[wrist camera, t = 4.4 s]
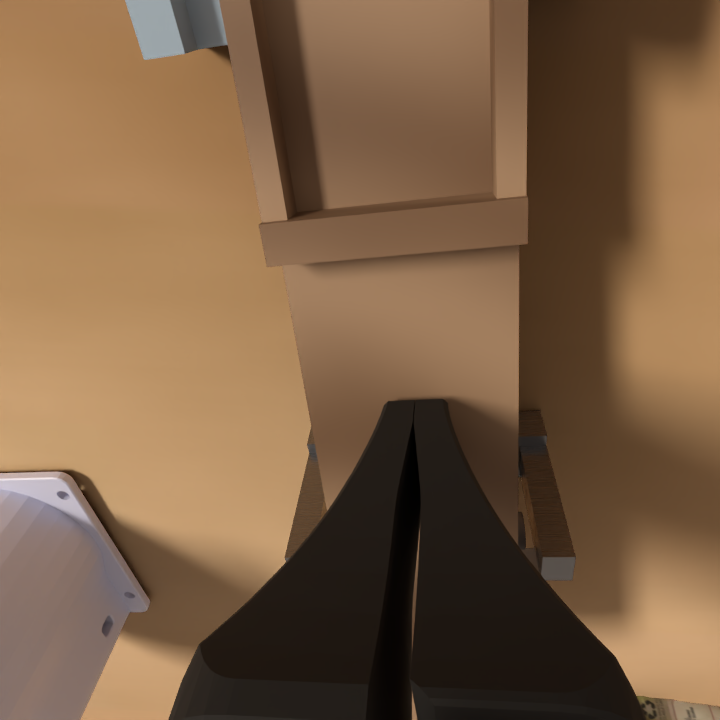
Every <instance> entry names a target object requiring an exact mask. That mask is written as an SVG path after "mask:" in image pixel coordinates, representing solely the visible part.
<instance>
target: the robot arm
mask: <svg viewBox="0 0 720 720" xmlns="http://www.w3.org/2000/svg"><path fill="white" fill-rule="evenodd" d="M419 530H420V539H419ZM418 540H419V559H418V578H417V593H416V609H415V623H414V635H413V648H412V609H413V592H414V581H415V571H416V561H417V551H418ZM149 605H150V600H149V598H148V597H147V595H146V594H145V592H144V590H143V589H142V587H141V586H140V584H139V583H138V581H137V579H136V578H135V576H134V575H133V573H132V571H131V570H130V568H129V567H128V565H127V563H126V562H125V560H124V559H123V557H122V556H121V554H120V552H119V551H118V549H117V548H116V546H115V544H114V543H113V541H112V540H111V538H110V536H109V535H108V533H107V532H106V530H105V529H104V527H103V525H102V524H101V522H100V521H99V519H98V517H97V516H96V514H95V513H94V511H93V510H92V508H91V506H90V505H89V503H88V502H87V500H86V498H85V497H84V495H83V494H82V492H81V490H80V489H79V487H78V486H77V484H76V483H75V481H74V479H73V478H72V477H71V476H70V475H68V474H66V473H64V472H25V473H0V720H80V719H81V717H82V715H83V713H84V711H85V708H86V706H87V704H88V702H89V700H90V697H91V695H92V693H93V691H94V689H95V687H96V684H97V682H98V680H99V678H100V676H101V674H102V671H103V669H104V667H105V665H106V663H107V660H108V658H109V656H110V654H111V652H112V650H113V647H114V645H115V643H116V641H117V639H118V636H119V634H120V632H121V630H122V628H123V626H124V623H125V621H126V619H127V617H128V615H129V613H130V612H145V611H147V609H148V607H149ZM412 693H413V699H414V704H415V709H416V715H417V720H646V717H645V715H644V712H643V710H642V708H641V705H640V703H639V701H638V699H637V696H636V694H635V692H634V690H633V688H632V686H631V684H630V683H629V681H628V679H627V677H626V675H625V673H624V671H623V670H622V668H621V666H620V664H619V662H618V661H617V659H616V657H615V656H614V655H613V654H612V653H611V652H610V651H609V650H608V649H607V648H606V647H605V646H604V645H603V644H602V643H601V642H600V641H599V640H598V639H597V638H596V637H595V635H594V634H593V633H592V632H591V631H590V630H589V629H588V628H587V627H586V626H585V625H584V624H583V623H582V622H581V621H580V620H579V619H578V618H577V616H576V615H575V614H574V613H573V612H572V611H571V610H570V609H569V607H568V606H567V605H566V604H565V603H564V602H563V601H562V600H561V598H560V597H559V596H558V595H557V594H556V593H555V592H554V590H553V589H552V588H551V587H550V586H549V584H548V583H547V582H546V581H545V579H544V578H543V577H542V576H541V574H540V573H539V572H538V571H537V569H536V568H535V567H534V566H533V564H532V563H531V562H530V561H529V559H528V558H527V557H526V556H525V554H524V553H523V552H522V550H521V549H520V547H519V546H518V545H517V543H516V542H515V540H514V539H513V538H512V536H511V535H510V533H509V532H508V530H507V529H506V527H505V526H504V524H503V523H502V521H501V520H500V518H499V517H498V515H497V514H496V512H495V510H494V509H493V507H492V506H491V504H490V502H489V501H488V499H487V497H486V495H485V494H484V492H483V490H482V488H481V487H480V485H479V483H478V481H477V479H476V477H475V475H474V473H473V472H472V469H471V467H470V465H469V463H468V461H467V459H466V457H465V455H464V453H463V450H462V448H461V446H460V443H459V441H458V438H457V436H456V433H455V430H454V427H453V424H452V421H451V418H450V413H449V409H448V402H446V401H445V400H444V399H424V400H416V401H415V400H400V401H388V402H387V403H386V404H385V405H384V406H383V409H382V412H381V415H380V417H379V420H378V422H377V425H376V427H375V429H374V431H373V433H372V436H371V438H370V440H369V442H368V444H367V446H366V448H365V450H364V451H363V453H362V455H361V457H360V459H359V461H358V463H357V464H356V466H355V468H354V470H353V472H352V473H351V475H350V476H349V478H348V480H347V481H346V483H345V485H344V486H343V488H342V489H341V491H340V493H339V494H338V496H337V497H336V499H335V500H334V502H333V503H332V505H331V506H330V508H329V509H328V510H327V512H326V513H325V515H324V516H323V517H322V519H321V520H320V521H319V523H318V524H317V525H316V527H315V528H314V529H313V531H312V532H311V533H310V534H309V536H308V537H307V538H306V539H305V540H304V542H303V543H302V544H301V545H300V547H299V548H298V549H297V550H296V551H295V553H294V554H293V555H292V556H291V557H290V558H289V559H288V561H287V562H286V563H285V564H284V565H283V566H282V567H281V568H280V569H279V570H278V571H277V572H276V574H275V575H274V576H273V577H272V578H271V579H270V580H269V581H268V582H267V583H266V584H265V585H264V586H263V587H262V588H261V589H260V590H259V591H258V592H257V593H256V594H255V595H254V596H253V597H252V598H251V599H250V600H249V601H248V602H247V603H246V604H245V605H244V606H242V607H241V608H240V609H239V610H238V611H237V612H236V613H235V614H233V615H232V616H231V617H230V618H229V619H228V620H227V621H225V622H224V623H223V624H222V625H221V626H220V627H219V628H218V629H216V630H215V631H214V632H213V633H212V634H211V635H210V636H208V637H207V638H206V639H205V640H204V641H202V642H201V643H200V644H199V646H198V648H197V650H196V652H195V654H194V656H193V658H192V660H191V663H190V665H189V667H188V669H187V671H186V673H185V675H184V678H183V680H182V682H181V685H180V688H179V691H178V694H177V696H176V699H175V702H174V705H173V708H172V711H171V714H170V717H169V720H412Z"/></svg>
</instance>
